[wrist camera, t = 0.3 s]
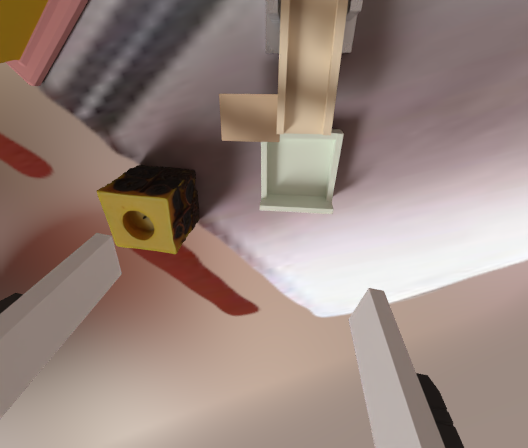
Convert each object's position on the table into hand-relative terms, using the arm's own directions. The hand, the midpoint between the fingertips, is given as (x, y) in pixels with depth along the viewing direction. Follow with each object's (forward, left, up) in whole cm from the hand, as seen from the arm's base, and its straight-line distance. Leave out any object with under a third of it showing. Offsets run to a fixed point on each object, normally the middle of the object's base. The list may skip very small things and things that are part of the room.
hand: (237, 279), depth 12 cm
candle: (+9, -18, -27) cm, 34 cm away
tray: (+3, +4, -27) cm, 27 cm away
